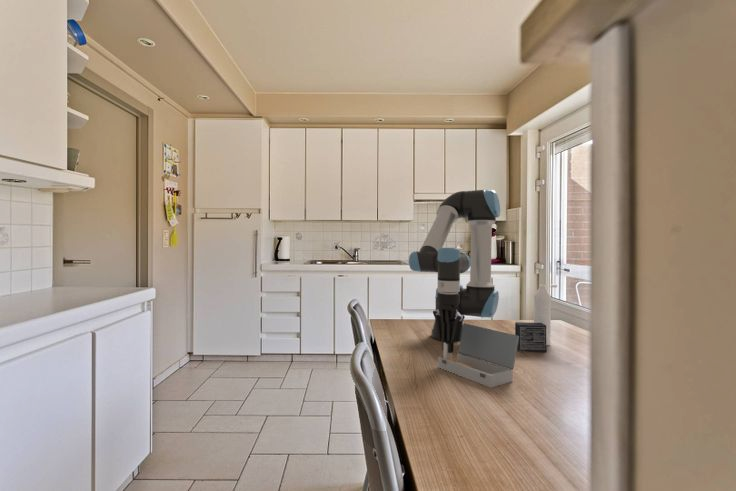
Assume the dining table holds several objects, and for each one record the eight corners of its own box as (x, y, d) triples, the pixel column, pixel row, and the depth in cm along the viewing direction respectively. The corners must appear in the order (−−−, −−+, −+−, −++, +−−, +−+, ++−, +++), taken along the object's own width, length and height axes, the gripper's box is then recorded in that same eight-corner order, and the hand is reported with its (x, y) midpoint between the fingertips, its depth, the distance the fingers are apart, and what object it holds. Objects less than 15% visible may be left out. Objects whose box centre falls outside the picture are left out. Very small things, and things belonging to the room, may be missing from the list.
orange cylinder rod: (447, 368, 136) (443, 363, 135) (452, 361, 137) (447, 356, 136) (470, 377, 128) (465, 371, 127) (474, 369, 129) (470, 364, 128)
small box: (541, 348, 162) (541, 322, 162) (547, 352, 155) (547, 325, 155) (514, 347, 163) (514, 321, 163) (518, 351, 156) (519, 324, 156)
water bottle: (534, 345, 166) (535, 284, 166) (532, 341, 172) (533, 283, 172) (557, 346, 164) (558, 285, 163) (555, 343, 170) (556, 284, 169)
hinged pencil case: (437, 367, 135) (437, 357, 135) (459, 362, 141) (459, 352, 141) (490, 388, 117) (490, 376, 117) (512, 381, 123) (512, 369, 123)
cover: (463, 323, 142) (465, 323, 143) (458, 352, 141) (460, 352, 141) (517, 335, 124) (519, 336, 124) (511, 369, 122) (513, 369, 123)
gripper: (427, 291, 140) (426, 358, 141) (454, 295, 129) (453, 368, 130) (442, 289, 145) (442, 355, 145) (470, 294, 134) (469, 364, 134)
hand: (447, 361), depth 137 cm, fingers closed
